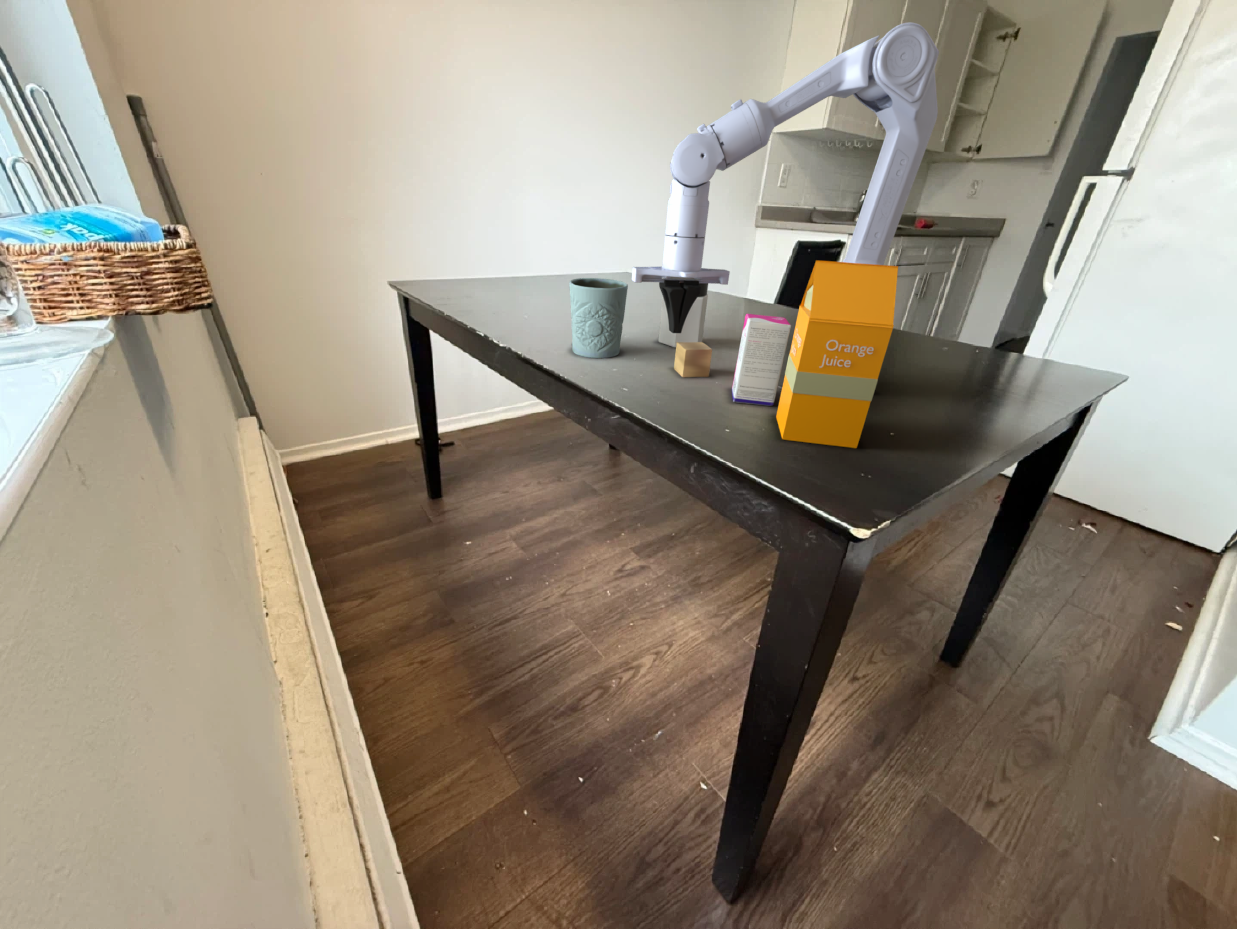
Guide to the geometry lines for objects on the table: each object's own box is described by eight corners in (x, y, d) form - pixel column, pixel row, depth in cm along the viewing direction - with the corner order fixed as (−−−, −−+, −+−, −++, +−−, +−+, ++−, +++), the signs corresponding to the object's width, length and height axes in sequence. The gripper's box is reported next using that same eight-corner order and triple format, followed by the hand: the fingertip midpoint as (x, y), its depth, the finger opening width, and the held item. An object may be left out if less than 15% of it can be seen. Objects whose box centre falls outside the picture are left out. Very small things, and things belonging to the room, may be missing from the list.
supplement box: (775, 406, 71) (792, 324, 66) (732, 402, 72) (746, 321, 67) (770, 393, 76) (786, 316, 71) (730, 389, 77) (743, 312, 72)
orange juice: (857, 448, 60) (911, 270, 51) (781, 439, 61) (820, 264, 52) (843, 423, 67) (888, 262, 58) (775, 416, 68) (809, 256, 59)
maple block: (699, 368, 86) (702, 342, 84) (708, 376, 82) (712, 349, 80) (673, 368, 85) (676, 342, 83) (682, 377, 81) (685, 349, 79)
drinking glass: (599, 341, 98) (601, 276, 93) (636, 354, 92) (640, 284, 86) (557, 349, 92) (557, 280, 86) (593, 363, 86) (595, 289, 80)
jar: (695, 337, 105) (703, 276, 100) (708, 348, 98) (716, 283, 92) (653, 337, 104) (658, 275, 98) (663, 348, 97) (669, 282, 91)
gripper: (643, 236, 67) (636, 338, 74) (743, 240, 71) (728, 338, 77) (630, 232, 73) (625, 327, 80) (723, 236, 77) (711, 327, 83)
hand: (675, 331), depth 79 cm, fingers closed
